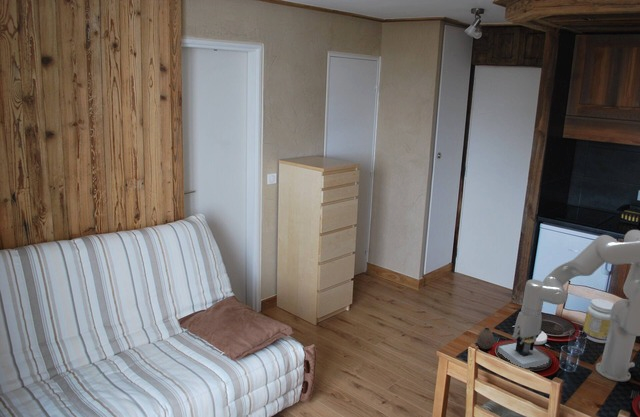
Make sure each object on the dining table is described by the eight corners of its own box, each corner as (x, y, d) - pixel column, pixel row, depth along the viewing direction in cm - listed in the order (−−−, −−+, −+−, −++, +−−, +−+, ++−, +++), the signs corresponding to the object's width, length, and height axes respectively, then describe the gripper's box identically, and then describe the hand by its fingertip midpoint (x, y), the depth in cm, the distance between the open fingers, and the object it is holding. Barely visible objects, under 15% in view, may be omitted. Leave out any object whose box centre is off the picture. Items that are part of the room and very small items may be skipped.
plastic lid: (507, 336, 243) (508, 331, 243) (523, 327, 252) (524, 322, 252) (536, 349, 233) (537, 344, 233) (552, 340, 242) (553, 335, 242)
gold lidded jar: (523, 352, 227) (526, 333, 224) (533, 359, 221) (537, 340, 219) (512, 354, 224) (515, 335, 222) (522, 362, 219) (526, 342, 217)
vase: (493, 352, 229) (496, 333, 226) (476, 349, 230) (479, 331, 228) (491, 344, 235) (494, 326, 233) (475, 341, 236) (478, 323, 234)
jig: (522, 349, 232) (524, 341, 231) (547, 366, 220) (549, 358, 219) (497, 354, 227) (498, 346, 226) (521, 372, 215) (522, 364, 213)
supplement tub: (587, 328, 255) (594, 295, 251) (615, 338, 247) (622, 304, 242) (577, 336, 247) (584, 302, 242) (605, 347, 239) (613, 312, 234)
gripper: (540, 303, 224) (533, 342, 229) (508, 308, 217) (501, 348, 222) (554, 311, 217) (546, 351, 222) (521, 317, 210) (514, 358, 215)
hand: (524, 349), depth 222 cm, fingers open, 5 cm apart
